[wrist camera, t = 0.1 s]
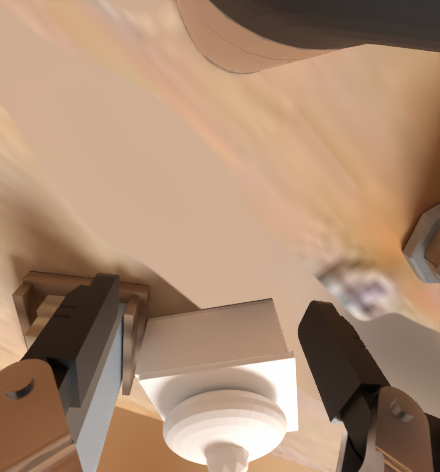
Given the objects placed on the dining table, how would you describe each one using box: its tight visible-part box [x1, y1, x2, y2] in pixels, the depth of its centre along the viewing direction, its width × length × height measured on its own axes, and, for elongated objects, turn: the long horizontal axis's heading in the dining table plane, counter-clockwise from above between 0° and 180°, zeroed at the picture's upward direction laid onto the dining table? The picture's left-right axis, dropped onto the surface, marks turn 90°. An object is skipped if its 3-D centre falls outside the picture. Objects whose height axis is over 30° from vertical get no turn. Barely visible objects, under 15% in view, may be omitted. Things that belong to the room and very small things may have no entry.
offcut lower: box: [37, 295, 65, 318], centre depth 33 cm, size 14×4×2 cm, turn 168°
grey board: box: [66, 303, 127, 472], centre depth 28 cm, size 14×2×16 cm, turn 168°
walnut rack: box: [12, 271, 149, 395], centre depth 34 cm, size 18×14×4 cm
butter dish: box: [134, 298, 298, 472], centre depth 33 cm, size 18×18×16 cm
